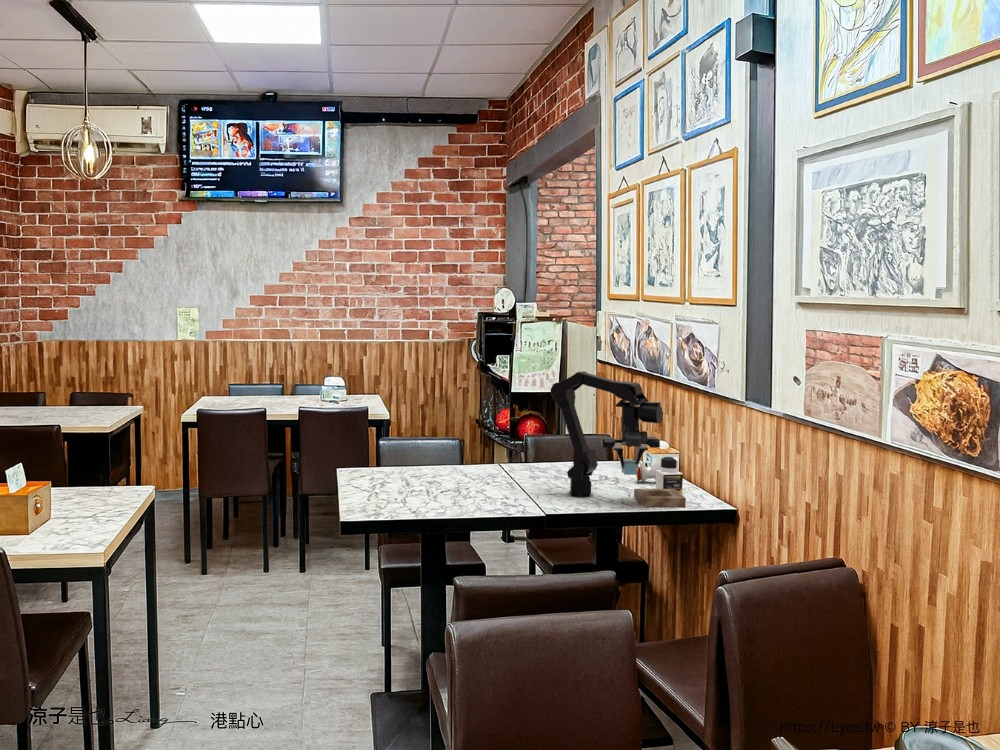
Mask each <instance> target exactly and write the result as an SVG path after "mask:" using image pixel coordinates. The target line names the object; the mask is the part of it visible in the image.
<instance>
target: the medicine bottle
mask: <svg viewBox="0 0 1000 750" xmlns="http://www.w3.org/2000/svg"><path fill="white" fill-rule="evenodd" d="M660 459H661V458H660ZM679 461H680V460H679V458H677V457H675V456H665V457H662V459H661V469H662V470H656V480H655V489H676V490H677V491H678V492H679V493H680V494H681V495H682V494H683V481H684V480H683V477H684V474H683V472H681V471H679V468H680V467H679V464H680V463H679ZM677 470H678V471H677Z"/></svg>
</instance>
